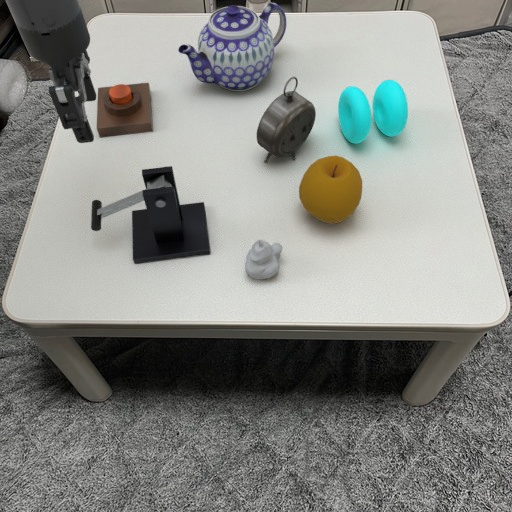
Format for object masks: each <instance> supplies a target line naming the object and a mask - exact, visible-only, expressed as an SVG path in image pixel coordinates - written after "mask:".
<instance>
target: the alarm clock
mask: <svg viewBox="0 0 512 512" xmlns="http://www.w3.org/2000/svg"><path fill="white" fill-rule="evenodd" d="M292 80H295V86H294V89H292V90H289V91H286V90H287V87H288V85H289V84H290V82H291V81H292ZM298 84H299V81H298V77H296V76H291V77H290V78H289V79H288V80H287V81H286V83H285V84H284V88H283V93H282V94H280V95H279V96H277V97H276V98H275V99H273V101H272V102H271V103H269V105H268V106H267V108H265V110H264V112H263V114H262V116H261V118H260V120H259V123H258V126H257V129H256V142H257V144H258V146H260V148H262V149H264V150H265V151H267V154H266V157H265V159H264V161H263V162H264V164H268V162H269V160H270V158H271V157H272V156H273V157H274V158H277V159H283V158H287V157H289V156H291V157H292V160H293V161H296V160H297V157H296V151H297V150H298V149H300V147H302V146H303V145H304V143H305V142H306V140H307V139H308V138H309V135H310V134H311V133H312V130H313V127H314V125H315V121H316V116H317V113H316V108H315V106H314V103H313V102H312V101H310V100H309V99H307V98H306V97H304V96H302V95H301V94H300V93H298V92H297V91H296V90H297V88H298Z"/></svg>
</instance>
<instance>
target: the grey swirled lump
mask: <svg viewBox="0 0 512 512" xmlns="http://www.w3.org/2000/svg"><path fill="white" fill-rule="evenodd" d="M282 252H283V246H282V244H281V243H279V242H273V243H272V244H270V243H269V242H268V241H266V240H264V239H257V240H256V241H255V242H254V243H253V244H252V245H251V248H250V249H249V250H248V252H247V254H246V260H245V272H246V273H247V274H248V276H250V277H251V278H252V279H257V280H265V279H270V278H272V277H274V276H275V275H276V274H278V273H279V271H280V263H279V259H280V258H281V254H282Z"/></svg>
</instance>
